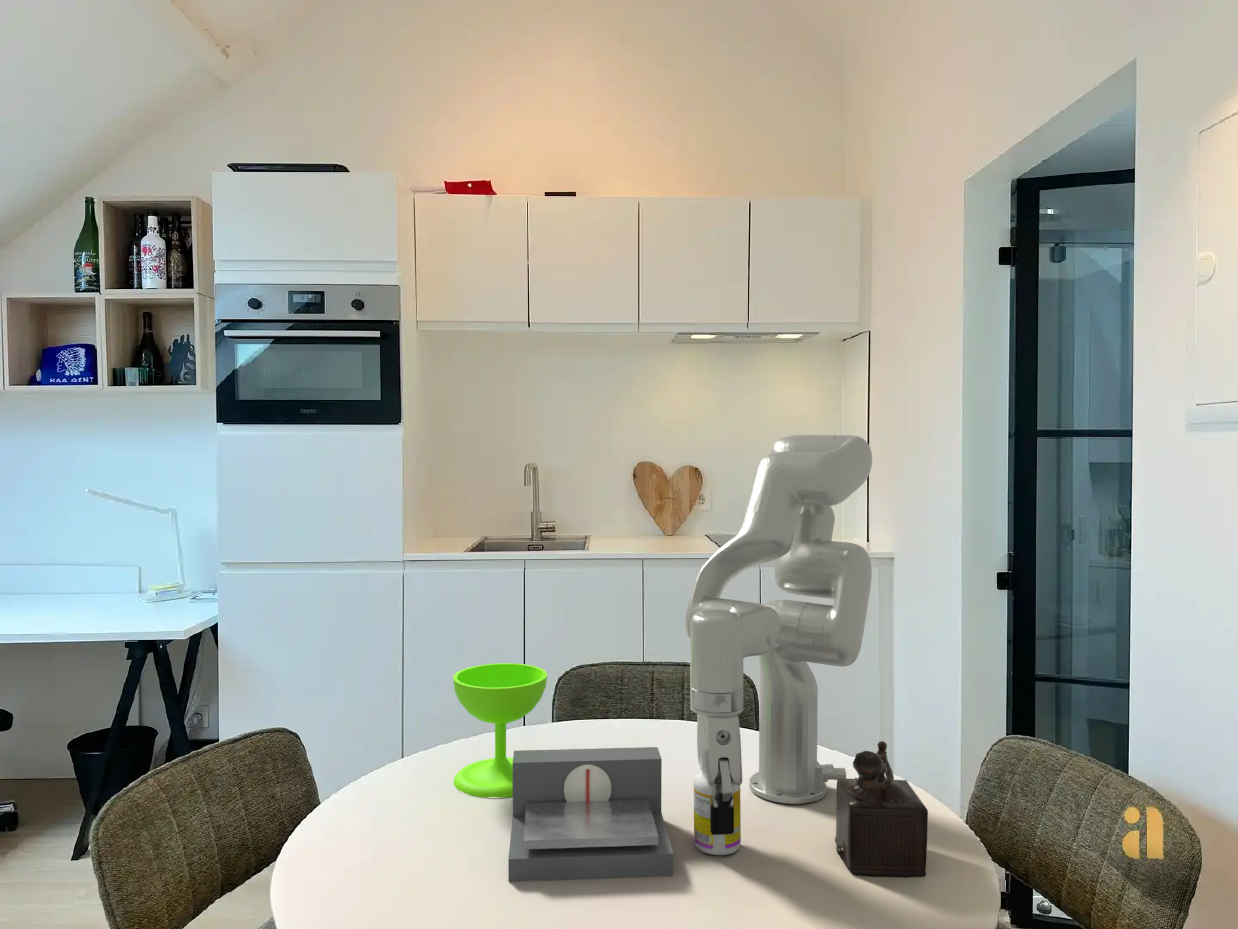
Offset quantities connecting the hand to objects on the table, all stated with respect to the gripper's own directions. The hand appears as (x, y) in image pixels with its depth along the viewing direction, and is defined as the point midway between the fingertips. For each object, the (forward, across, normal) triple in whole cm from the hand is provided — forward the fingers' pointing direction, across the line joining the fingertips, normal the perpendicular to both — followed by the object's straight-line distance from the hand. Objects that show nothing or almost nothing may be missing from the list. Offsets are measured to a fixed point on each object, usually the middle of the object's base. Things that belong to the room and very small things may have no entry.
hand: (717, 820), depth 126 cm
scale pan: (0, -1, +18) cm, 18 cm away
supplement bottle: (+4, 0, 0) cm, 4 cm away
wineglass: (+4, +28, +32) cm, 43 cm away
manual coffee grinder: (+4, -7, -21) cm, 23 cm away
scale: (+4, +2, +18) cm, 19 cm away
